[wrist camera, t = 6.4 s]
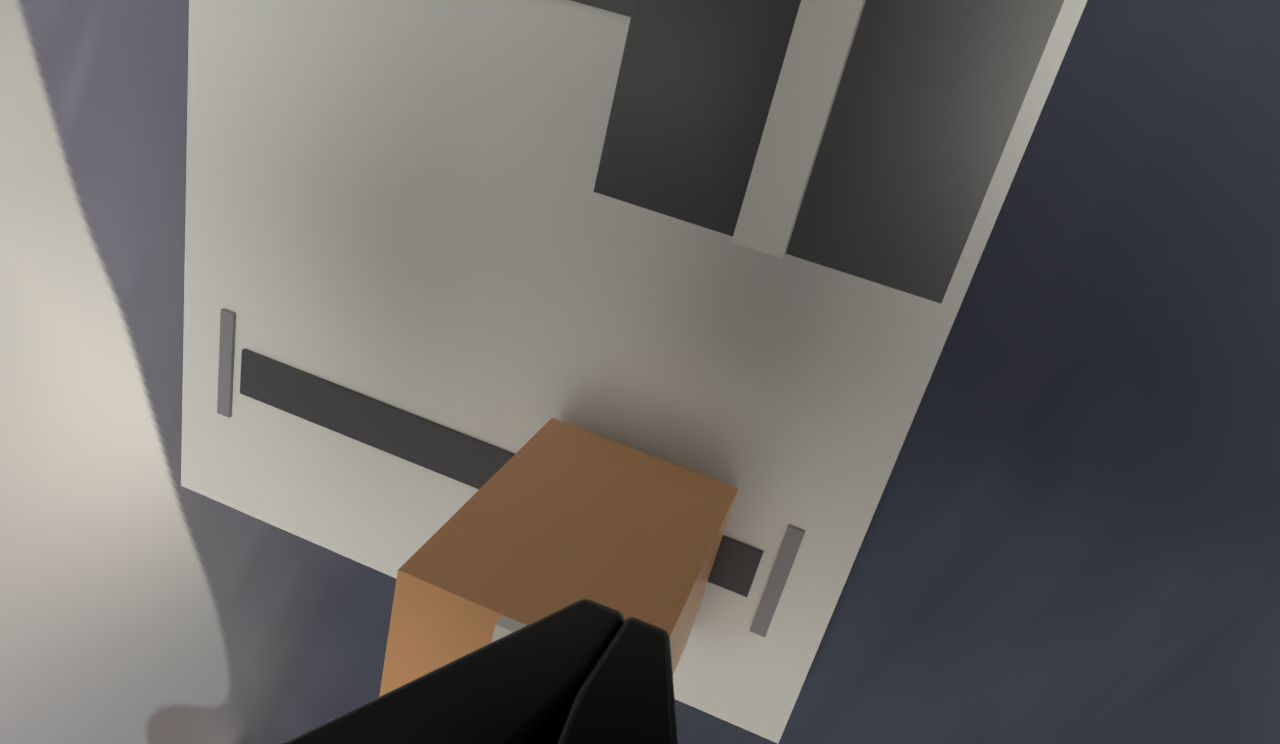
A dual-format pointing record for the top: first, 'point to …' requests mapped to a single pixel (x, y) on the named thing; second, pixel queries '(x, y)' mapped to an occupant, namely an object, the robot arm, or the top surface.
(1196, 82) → the top surface
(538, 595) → the orange fader
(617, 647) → the robot arm
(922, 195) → the black fader
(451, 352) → the console
